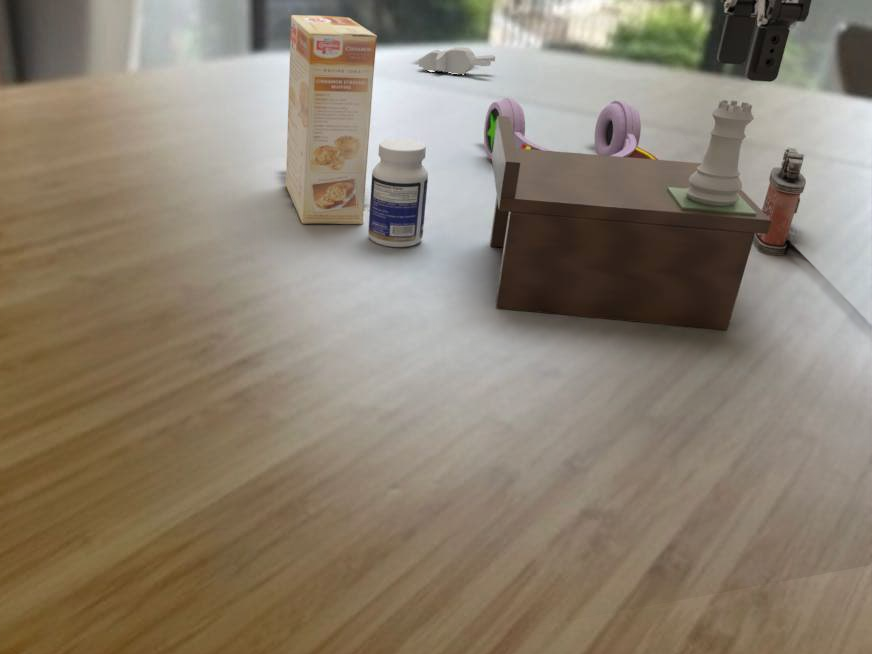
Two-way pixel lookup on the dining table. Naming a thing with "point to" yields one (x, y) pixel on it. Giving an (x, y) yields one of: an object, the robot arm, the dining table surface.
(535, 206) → the brown wooden desk
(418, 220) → the pill bottle
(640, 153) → the headphones
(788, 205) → the lighter
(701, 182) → the rook chess piece
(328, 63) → the coffeecake box
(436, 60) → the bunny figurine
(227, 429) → the dining table surface
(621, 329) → the dining table surface
